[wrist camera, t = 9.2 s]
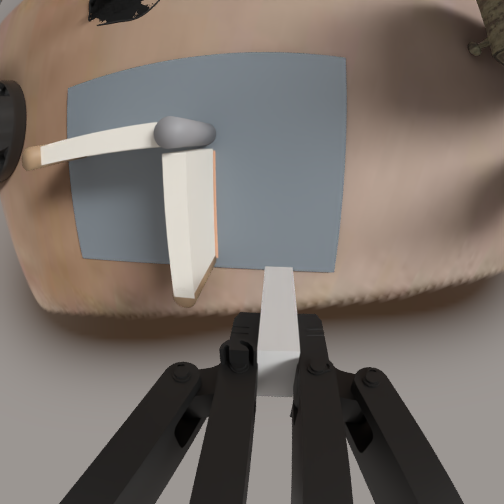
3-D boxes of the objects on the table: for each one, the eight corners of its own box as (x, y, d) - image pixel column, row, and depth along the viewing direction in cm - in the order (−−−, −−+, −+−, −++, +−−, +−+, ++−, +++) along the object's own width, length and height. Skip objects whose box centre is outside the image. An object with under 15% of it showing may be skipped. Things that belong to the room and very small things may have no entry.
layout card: (84, 256, 29) (82, 258, 28) (70, 88, 21) (67, 88, 21) (333, 270, 26) (334, 272, 26) (344, 59, 18) (345, 57, 18)
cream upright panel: (193, 149, 22) (160, 153, 16) (214, 148, 22) (187, 152, 16) (198, 266, 27) (174, 306, 20) (216, 267, 26) (197, 308, 20)
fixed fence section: (80, 158, 24) (22, 172, 16) (79, 140, 23) (21, 149, 16) (217, 144, 23) (184, 147, 15) (217, 122, 22) (184, 114, 14)
